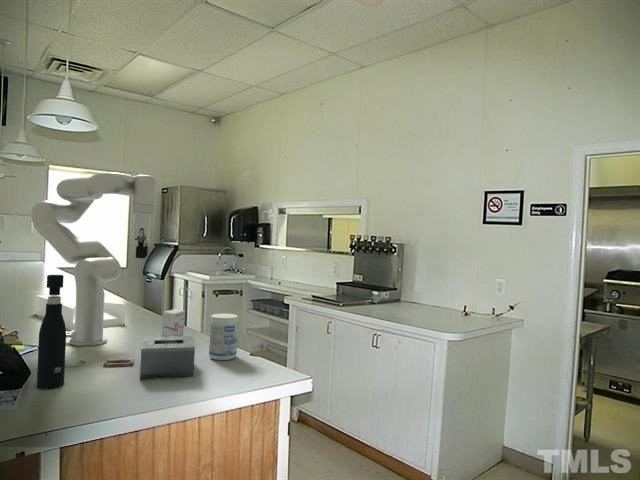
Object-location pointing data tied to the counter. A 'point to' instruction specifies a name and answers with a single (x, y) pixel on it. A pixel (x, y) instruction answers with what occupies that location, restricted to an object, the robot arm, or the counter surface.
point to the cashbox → (167, 357)
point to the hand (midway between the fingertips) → (141, 257)
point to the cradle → (118, 362)
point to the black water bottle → (52, 339)
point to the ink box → (173, 323)
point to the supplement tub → (223, 336)
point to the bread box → (112, 311)
